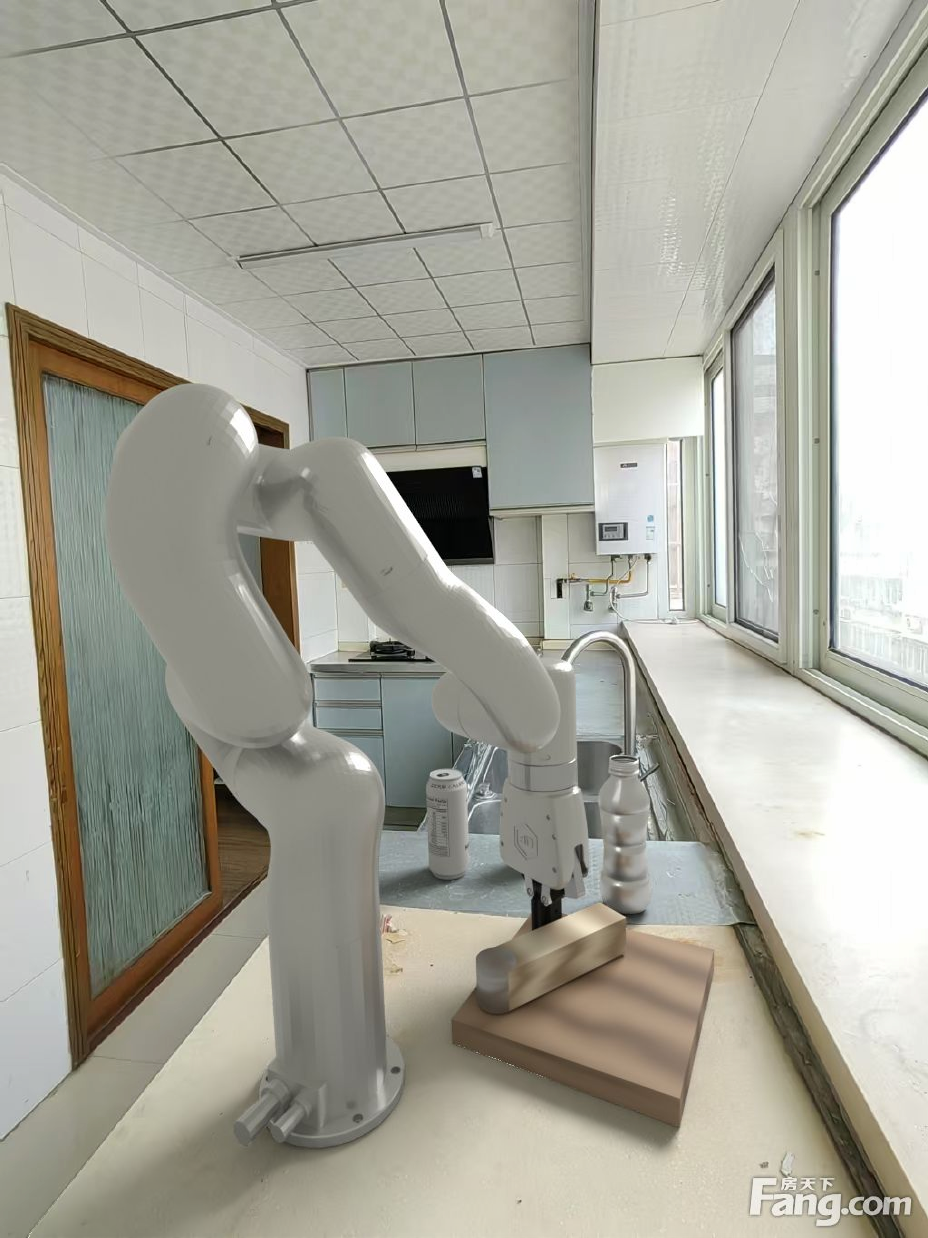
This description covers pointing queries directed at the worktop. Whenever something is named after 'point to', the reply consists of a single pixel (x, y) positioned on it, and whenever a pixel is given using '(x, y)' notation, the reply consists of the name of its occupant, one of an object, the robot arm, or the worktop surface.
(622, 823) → the plastic bottle
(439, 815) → the energy drink can
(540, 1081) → the worktop surface
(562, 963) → the folding leg
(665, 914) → the worktop surface
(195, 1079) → the worktop surface
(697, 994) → the stool seat
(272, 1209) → the worktop surface
